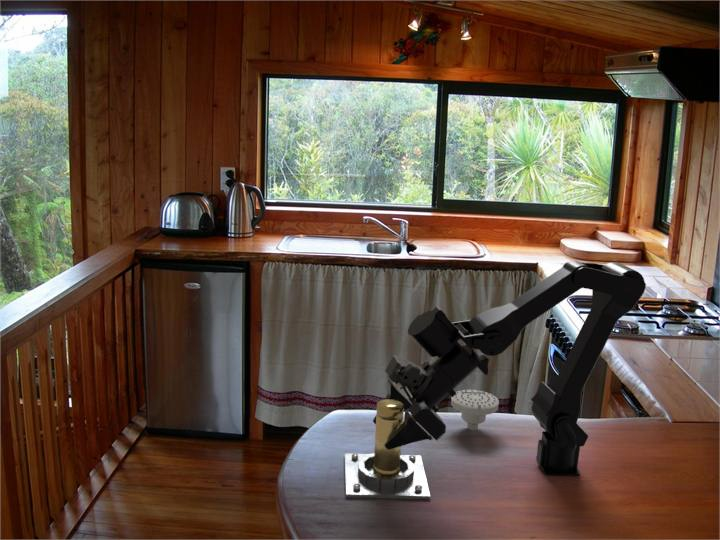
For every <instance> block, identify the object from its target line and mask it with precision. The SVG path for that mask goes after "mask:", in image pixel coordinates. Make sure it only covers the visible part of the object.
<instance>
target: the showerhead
mask: <svg viewBox="0 0 720 540" xmlns="http://www.w3.org/2000/svg"><path fill="white" fill-rule="evenodd" d="M455 392H456V393H457V394H456V395H455V396H453V397H452V396H451V395H450V397H451V399H450V400H451V401H450V404H451V406H452V407H453V408H454V409H455V410H457V411H458V412H461V419H462V421H464V422H465V423H466V427H467V429H468V430H471V431H478V429H479V425H480V424H482V423H484V422H486V418H487V417H486V416H487V415H492V414H494V413H495V412H498V410H499V405H500V404H499V403H500V401H499V399H498V398H497V397H496V396H495V395H494V394H492V393H489V392H486V391H485V390H479V389H472V388H471V389H462V390H457V391H455Z"/></svg>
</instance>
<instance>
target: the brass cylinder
mask: <svg viewBox="0 0 720 540" xmlns="http://www.w3.org/2000/svg"><path fill="white" fill-rule="evenodd" d="M404 413H405V411H404V405H403V403H401V402H400V401H397V400H390V399H387V400H385V399H382V400H379V401H377V403H376V415H375V416H376V424H375V432H374V433H375V434H374V451H373V453H374V466H373V474H375V475H378V476H381V477H395V476H398V475H399V473H400V458H401V455H402V446H400V447H397V448H393V449H390V450H388V449H387V448H386V447H385V446H384V445H385V443H386V442H387V441H388V439H389V438H390V437H391V436H392V435H393V433H394V432H395V431H396V430H397V429H398V428H399V427H400V425H401V424H402V423H403V422H404Z"/></svg>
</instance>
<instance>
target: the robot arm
mask: <svg viewBox="0 0 720 540" xmlns="http://www.w3.org/2000/svg"><path fill="white" fill-rule="evenodd" d="M646 286H647V284H646V281H645V278H644V277H643V275H642V274H641V273H640V272H639V271H637V270H636V269H633V268H631V267H629V266H627V265H625V264H622V263H620V262H617V261H612V262H608V263H606V264H599V263H594V262H581V261H578V260H574V259H573V260H569V261H566V262H565V263H564V264H563V266H562V267H561V268H559V269H558V270H557V271H555V272H553V273H551V274H550V275H549V276H547V277H546V278H545V279H543V280H542V281H540V282H539V283H537V284H536V285H534V286H533V287H531V288H530V289H528V290H527V291H526V292H524V293H523V294H521V295H519V296H518V297H517V298H515V299H514V300H512V301H510V302H508V303H506V304H504V305H500V306H496V307H491V308H489V309H486V310H485V311H483V312H481V313H479V314H476V315H475V316H473V317H472V318H471V319H465V320H458V321H451V320H449V318H448V317H447V314H446V313H445V312H444V311H443V310H442V309H441V308H440V307H439V306H435V307H434V308H433V309H432V310H427V311H425V312H423V313H422V314H418V315H417V316H416V317H415V318H414V319H413V320H412V322H411V323H410V325H409V326H408V329H407V333H408V335H409V337H411V339H413V340H414V342H415V343H417V345H418V346H420V348H421V349H423V351H424V352H425V353H426V354H427V355H428V356H429V357H432V358H436V357H437V358H436V359H435V361H433V362H432V363H430V362H429V361H426V362H423V363H422V364H421V365H417V364H415V363H414V362H412V361H410V360H407V359H406V358H403V357H401V356H398V355H395V354H393V355H392V357H391V359H390V360H389V362H388V364H387V365H386V368H385V370H384V371H385V373H386V374H387V376H388V380H387V384H388V386H387V387H388V389H387V391H388V392H387V395H386V397H385V399H384V400H387V399H390V400H397V401H400V402H401V403H403V405H404V416H403V423H402V424H401V425H400V427H399V428H398V429H397V430H396V431H395V432H394V433H393V435H392V436H391V437H390V438H389V439H388V441H387V442H386V443H385V445H384V446H385V447H386V448H387V449H388V450H390V449H393V448H397V447H400V446H401V447H402V446H403V447H404V446H406V445H409V444H413V443H416V442H421V441H425V440H426V441H427V440H429V441H432V440H433V439H434V440H435V441H439V440H440V439H441V437H443V436H444V435H445V434H446V430H447V429H446V428H447V425H446V424H445V422H444V421H443V419H442V418H441V416H440V415H439V414H438V411H440V408H439V407H438V405H439V404H440V403H442V402H443V400H444V399H446V398H447V396H450V397H451V396H452V397H453V396H455V395H456V394H457V393H456V392H457V391H456V390H455V389H456V388H458V386H459V385H460V384H461V383H463V381H465V380H466V379H467V377H469V376H470V375H471V374H472V373H473V372H475V371H476V370H477V369H478V370H479V371H480V372H482V374H484V375H486V376H487V375H488V374H489V362H490V359H489V357H488V356H491V357H496V356H499V355H501V354H503V353H504V352H505V351H506V350H507V349H508V348H509V347H510V346H512V345H513V344H514V343H515V342H516V341H517V339H518V338H519V336H520V335H521V333H522V331H523V330H524V329H525V328H526V327H527V326H528V325H529V324H531V323H532V322H533V321H535V320H537V319H538V318H540V317H541V316H543V315H544V314H546V313H547V312H548V311H551V309H553V308H554V307H556V306H557V305H559V304H560V303H562V302H563V301H564V300H566V299H567V298H569V297H571V296H573V294H575V293H576V292H578V291H580V290H581V289H585V290H592V291H591V292H592V295H591V297H592V298H591V299H592V300H591V307H590V310H589V313H588V314H587V316H586V318H585V320H584V322H583V324H582V326H581V328H580V330H579V332H578V334H577V335H576V338H575V340H574V342H573V345H572V346H571V348H570V350H569V352H568V354H567V356H566V358H565V359H564V360H565V361H564V362H563V364H562V366H561V368H560V370H559V372H558V374H557V375H556V377H555V379H553V380H551V381H549V383H546V382H544V381H541V382H540V383H539V385H538V387H537V391H536V392H535V394H534V396H532V397H531V399H530V400H531V401H532V405H531V411H532V415H533V417H534V418H535V419H536V421H537V422H538V423H539V427H540V428H541V429H543V430H544V431H542V432H541V439H538V442H537V450H536V451H537V452H536V456H535V457H536V461H537V463H538V465H539V467H540V468H541V470H542V472H543V473H544V474H545V476H546V475H547V476H576V477H577V476H578V477H579V476H580V475H581V471H580V470H579V457H580V450H581V447H584V446H585V444H586V443H587V440H588V438H589V434H587V433H586V432H585V430H583V428H581V426H580V425H579V424H578V419H579V417H580V413H581V410H582V392H583V390H584V387H585V385H586V383H587V382H588V380H589V377H590V375H591V373H592V371H593V369H594V368H595V366H596V364H597V362H598V359H599V358H600V356H601V354H602V351H603V350H604V348H605V346H606V344H607V342H608V340H609V338H610V336H611V334H612V333H613V330H614V329H615V327H616V325H617V323H618V321H619V320H620V319H621V318H622V317H624V316H625V315H627V314H628V313H629V312H630V311H632V310H633V309H634V308H635V306H636V305H637V303H638V302H639V301H640V299H641V298H642V296H643V295H644V293H645V291H646V289H647V288H646ZM459 340H461V341H462V342H463V343H464V345H462V344H460V343H459V342H458V341H459ZM476 350H479V351H480V353H482V354H478V352H477V351H476ZM372 423H374V424H375V425H376V415H375V416H374V417H373V419H372Z"/></svg>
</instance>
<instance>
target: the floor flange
mask: <svg viewBox="0 0 720 540" xmlns="http://www.w3.org/2000/svg"><path fill="white" fill-rule="evenodd" d="M373 466H374V452H373V453H344V471H345V472H344V473H345V474H344V475H345V476H344V477H345V480H344V481H345V497H346V498H350V499H351V498H352V499H354V498H355V499H390V500H391V499H393V500H394V499H396V500H397V499H398V500H399V499H400V500H431V493H430V489H429V485H428V480H427V476H426V472H425V468H424V463H423V458H422V455H418V454H416V455H415V454H401V458H400V473H399V475H398V476H395V477H381V476H378V475H375V474H373Z"/></svg>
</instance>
